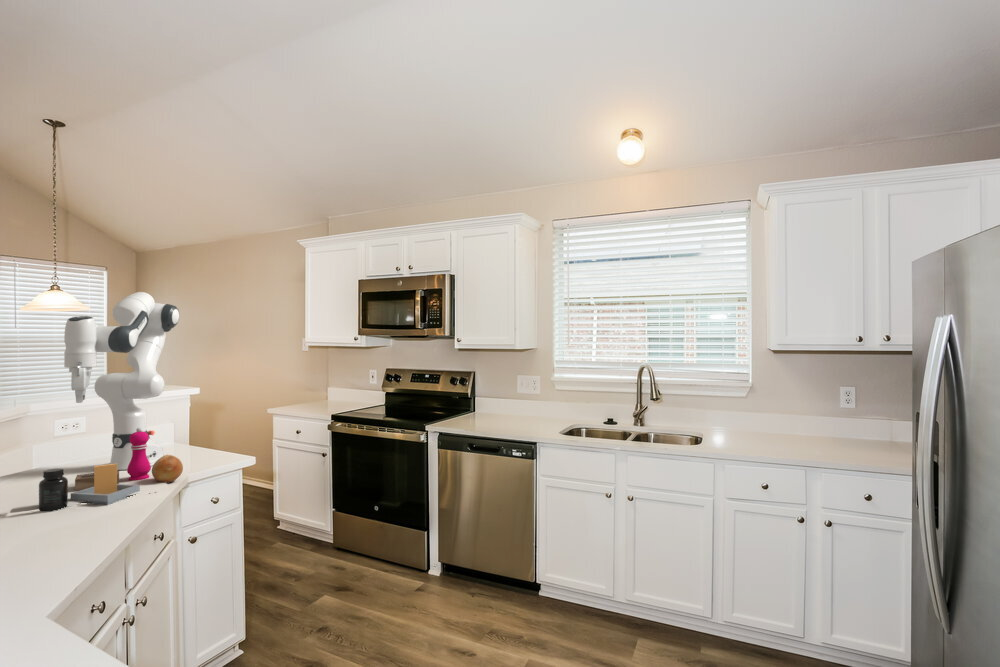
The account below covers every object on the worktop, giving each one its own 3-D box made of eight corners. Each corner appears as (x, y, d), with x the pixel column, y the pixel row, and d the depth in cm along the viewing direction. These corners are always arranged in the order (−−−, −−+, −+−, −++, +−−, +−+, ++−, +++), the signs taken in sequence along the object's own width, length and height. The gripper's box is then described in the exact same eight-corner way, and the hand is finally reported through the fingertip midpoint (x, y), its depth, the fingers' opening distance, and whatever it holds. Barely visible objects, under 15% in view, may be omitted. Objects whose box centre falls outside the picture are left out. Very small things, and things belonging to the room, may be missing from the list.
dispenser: (77, 489, 183) (77, 473, 183) (119, 483, 190) (119, 468, 190) (75, 494, 176) (75, 478, 176) (118, 488, 183) (118, 472, 183)
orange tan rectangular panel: (94, 496, 171) (94, 466, 171) (117, 493, 174) (117, 463, 174) (94, 497, 170) (94, 466, 170) (116, 494, 173) (117, 464, 173)
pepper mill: (138, 484, 189) (138, 429, 189) (122, 483, 190) (122, 428, 190) (155, 478, 196) (155, 426, 196) (139, 477, 197) (139, 425, 197)
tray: (104, 491, 179) (104, 483, 179) (139, 493, 177) (139, 484, 177) (70, 502, 167) (70, 493, 167) (107, 504, 165) (107, 495, 165)
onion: (144, 484, 188) (144, 457, 188) (170, 477, 197) (170, 451, 197) (163, 487, 185) (163, 459, 185) (189, 480, 194) (189, 453, 194)
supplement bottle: (44, 506, 164) (45, 468, 164) (71, 503, 166) (71, 466, 166) (34, 513, 157) (34, 473, 158) (62, 510, 160) (62, 471, 160)
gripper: (90, 362, 176) (89, 403, 176) (93, 360, 192) (93, 398, 192) (65, 363, 172) (65, 405, 172) (71, 361, 189) (71, 399, 189)
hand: (80, 401), depth 182 cm, fingers open, 8 cm apart
